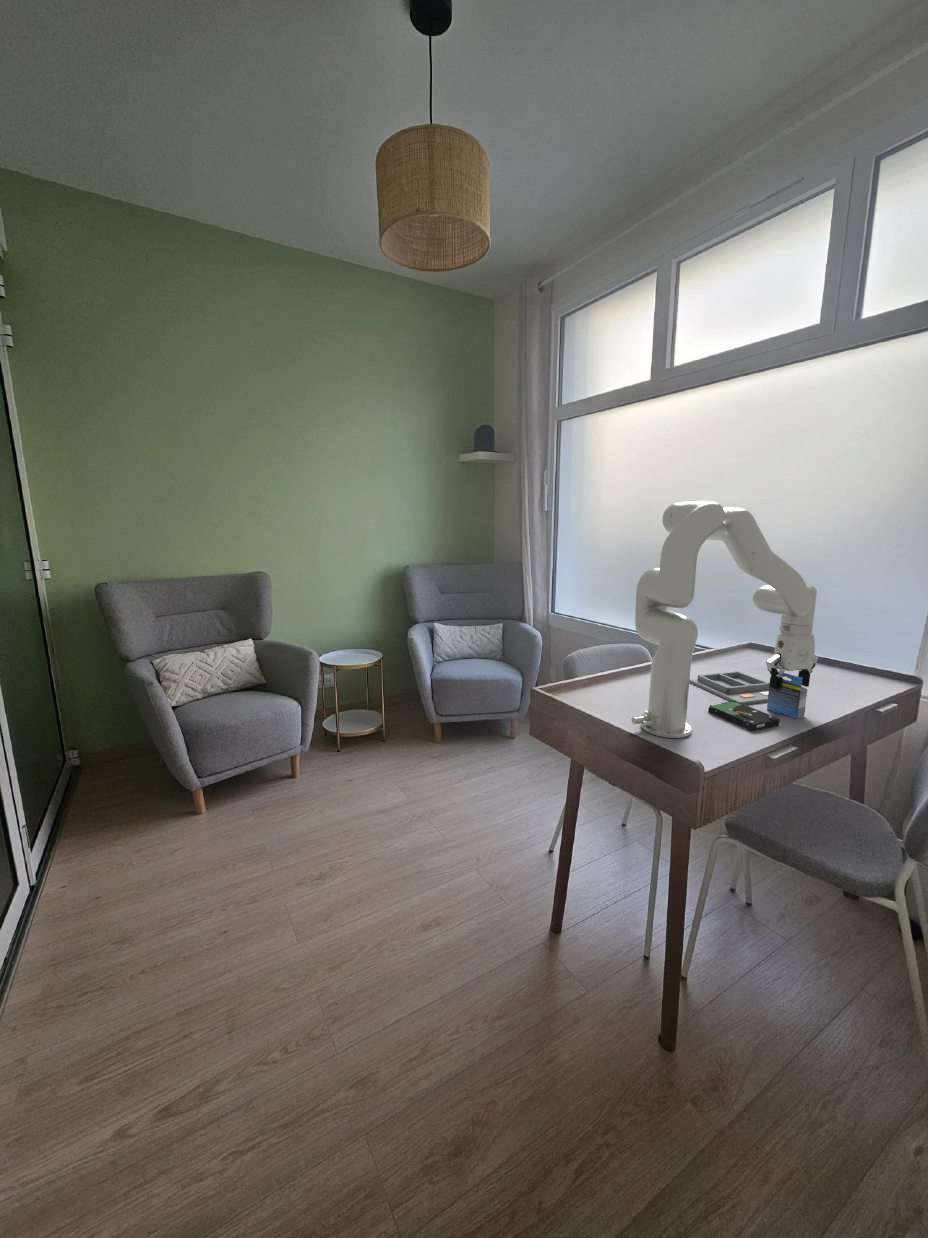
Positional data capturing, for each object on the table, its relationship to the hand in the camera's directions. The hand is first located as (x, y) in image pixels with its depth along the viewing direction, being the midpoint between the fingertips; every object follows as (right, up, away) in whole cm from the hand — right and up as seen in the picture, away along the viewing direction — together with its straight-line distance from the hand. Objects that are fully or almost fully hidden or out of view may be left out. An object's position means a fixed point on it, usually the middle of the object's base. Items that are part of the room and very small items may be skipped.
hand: (789, 687), depth 145 cm
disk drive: (-15, -9, -2) cm, 18 cm away
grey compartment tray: (-4, -4, +20) cm, 21 cm away
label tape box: (0, -8, +2) cm, 8 cm away
